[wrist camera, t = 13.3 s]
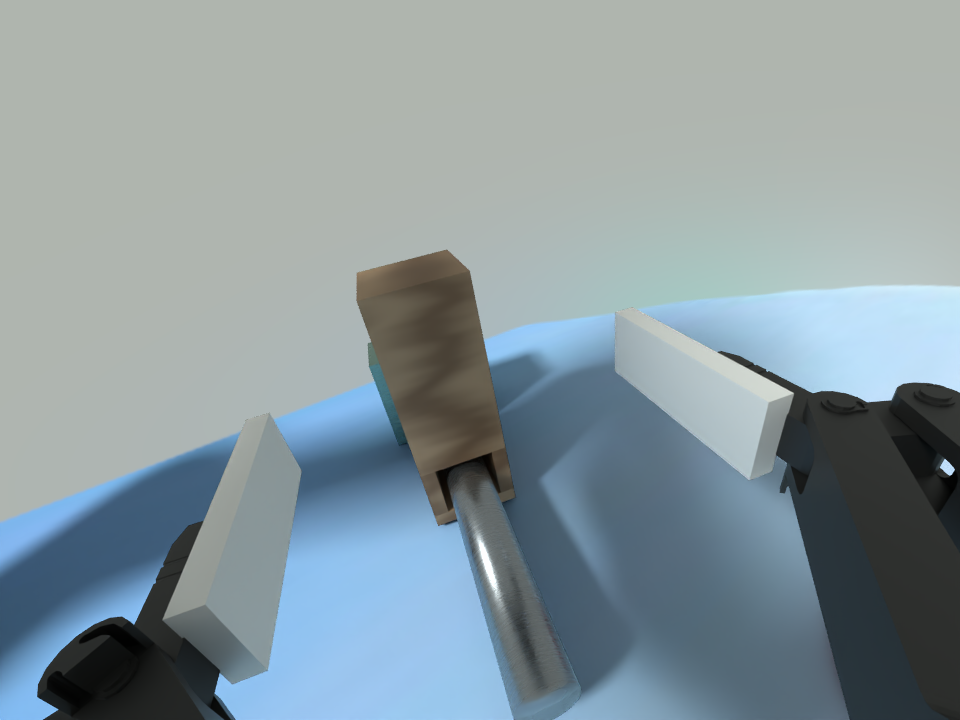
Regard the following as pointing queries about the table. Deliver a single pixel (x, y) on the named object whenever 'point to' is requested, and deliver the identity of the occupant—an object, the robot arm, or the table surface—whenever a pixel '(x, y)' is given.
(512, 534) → the rod stand
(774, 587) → the table surface
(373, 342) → the sleeve
